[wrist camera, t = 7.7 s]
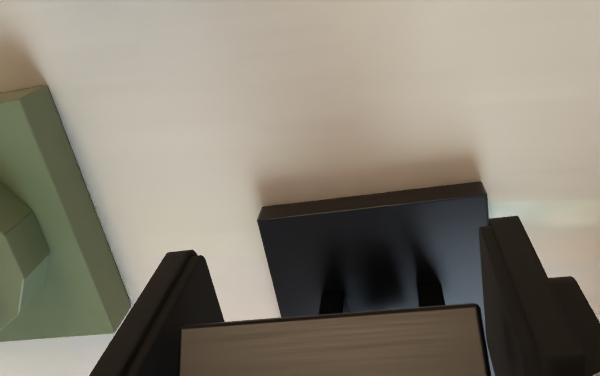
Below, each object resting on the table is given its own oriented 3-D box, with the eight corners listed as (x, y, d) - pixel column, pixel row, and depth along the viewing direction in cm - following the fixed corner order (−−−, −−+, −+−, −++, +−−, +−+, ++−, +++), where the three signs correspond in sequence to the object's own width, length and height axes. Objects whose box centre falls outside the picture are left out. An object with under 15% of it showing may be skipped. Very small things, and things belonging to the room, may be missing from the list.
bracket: (262, 206, 24) (226, 295, 18) (482, 180, 22) (519, 270, 16) (312, 413, 28) (296, 535, 23) (495, 405, 27) (527, 535, 21)
